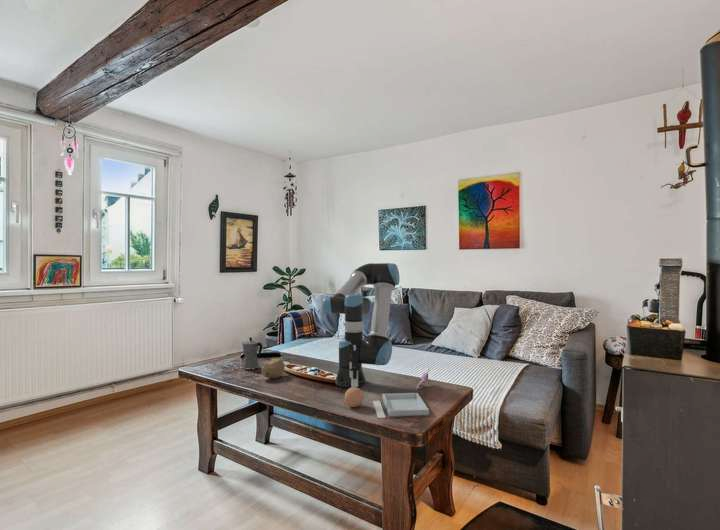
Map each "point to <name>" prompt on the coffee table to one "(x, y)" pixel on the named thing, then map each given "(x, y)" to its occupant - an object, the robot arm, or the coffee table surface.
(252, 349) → the coffeepot
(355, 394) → the ball
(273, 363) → the low-poly potato
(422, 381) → the lily
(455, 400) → the coffee table surface
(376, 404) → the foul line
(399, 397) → the tray
